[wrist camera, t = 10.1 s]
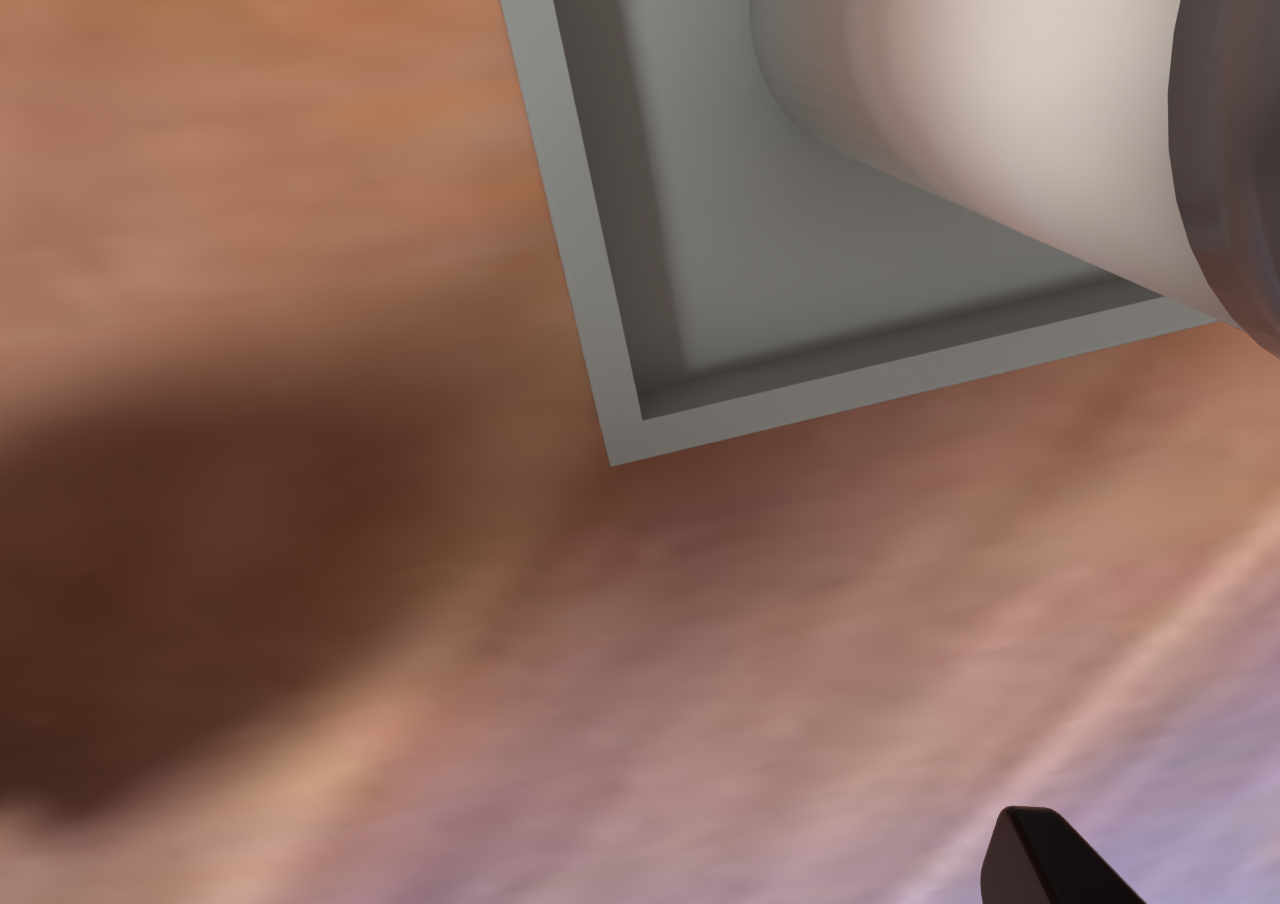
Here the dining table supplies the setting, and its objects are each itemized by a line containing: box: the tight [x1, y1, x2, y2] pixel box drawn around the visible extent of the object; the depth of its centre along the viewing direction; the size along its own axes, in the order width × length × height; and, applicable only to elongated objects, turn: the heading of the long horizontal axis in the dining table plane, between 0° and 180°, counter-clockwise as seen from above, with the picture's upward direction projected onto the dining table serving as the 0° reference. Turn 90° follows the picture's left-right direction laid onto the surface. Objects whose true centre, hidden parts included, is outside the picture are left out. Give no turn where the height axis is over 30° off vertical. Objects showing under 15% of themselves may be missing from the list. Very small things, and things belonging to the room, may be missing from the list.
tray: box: [500, 0, 1220, 467], centre depth 17 cm, size 14×14×2 cm
